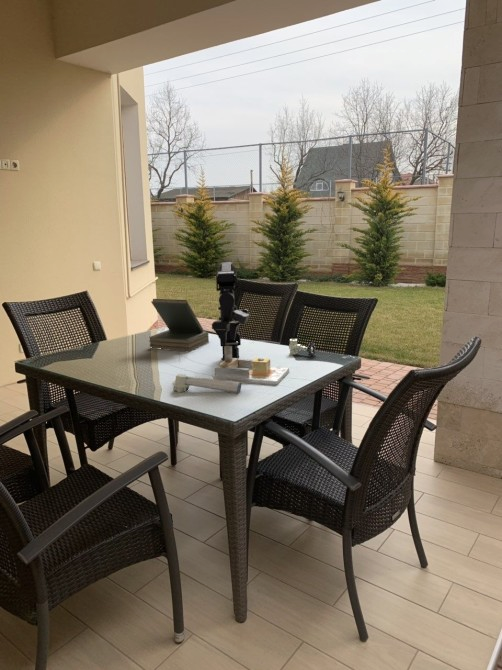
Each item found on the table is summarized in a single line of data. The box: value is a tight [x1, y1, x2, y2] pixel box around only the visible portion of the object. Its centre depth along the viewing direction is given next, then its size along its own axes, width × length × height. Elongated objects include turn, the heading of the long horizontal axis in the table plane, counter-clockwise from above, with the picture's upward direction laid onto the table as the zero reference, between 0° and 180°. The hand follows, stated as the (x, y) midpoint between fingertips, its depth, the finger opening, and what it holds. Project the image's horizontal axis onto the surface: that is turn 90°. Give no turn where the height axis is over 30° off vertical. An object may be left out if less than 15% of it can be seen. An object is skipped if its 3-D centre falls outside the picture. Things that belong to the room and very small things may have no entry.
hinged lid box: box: [148, 298, 210, 353], centre depth 245 cm, size 23×20×25 cm
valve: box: [288, 338, 317, 357], centre depth 223 cm, size 7×7×12 cm
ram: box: [218, 346, 239, 368], centre depth 196 cm, size 4×10×10 cm, turn 160°
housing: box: [252, 357, 271, 375], centre depth 192 cm, size 6×5×5 cm
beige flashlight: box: [172, 373, 242, 394], centre depth 177 cm, size 5×7×25 cm
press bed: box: [212, 358, 290, 386], centre depth 194 cm, size 26×18×4 cm
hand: (228, 342), depth 195 cm, fingers open, 9 cm apart
